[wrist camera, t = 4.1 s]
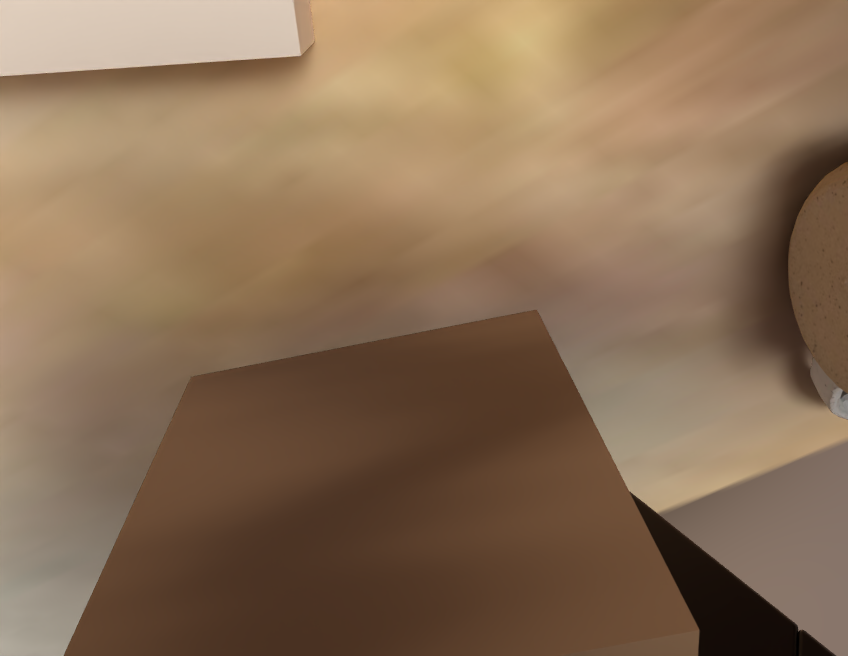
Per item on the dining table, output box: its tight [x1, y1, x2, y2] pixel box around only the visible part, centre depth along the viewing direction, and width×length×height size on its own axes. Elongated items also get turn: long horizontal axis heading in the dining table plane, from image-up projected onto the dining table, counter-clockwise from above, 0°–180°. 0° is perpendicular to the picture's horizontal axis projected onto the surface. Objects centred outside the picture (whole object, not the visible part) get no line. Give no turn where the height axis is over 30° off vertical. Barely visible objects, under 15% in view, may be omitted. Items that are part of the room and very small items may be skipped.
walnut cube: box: [64, 310, 699, 656], centre depth 8 cm, size 5×5×5 cm
